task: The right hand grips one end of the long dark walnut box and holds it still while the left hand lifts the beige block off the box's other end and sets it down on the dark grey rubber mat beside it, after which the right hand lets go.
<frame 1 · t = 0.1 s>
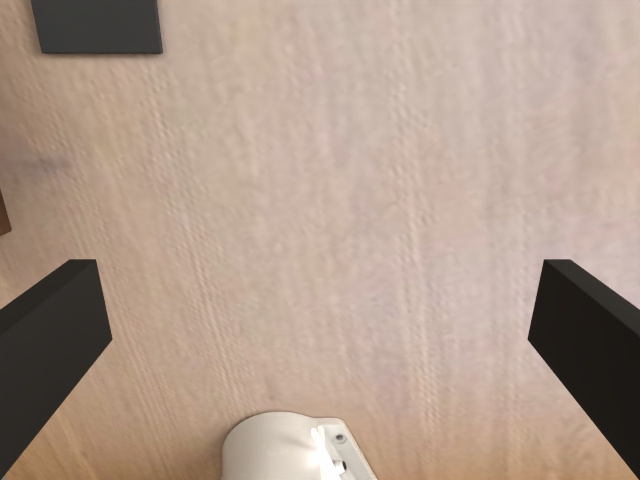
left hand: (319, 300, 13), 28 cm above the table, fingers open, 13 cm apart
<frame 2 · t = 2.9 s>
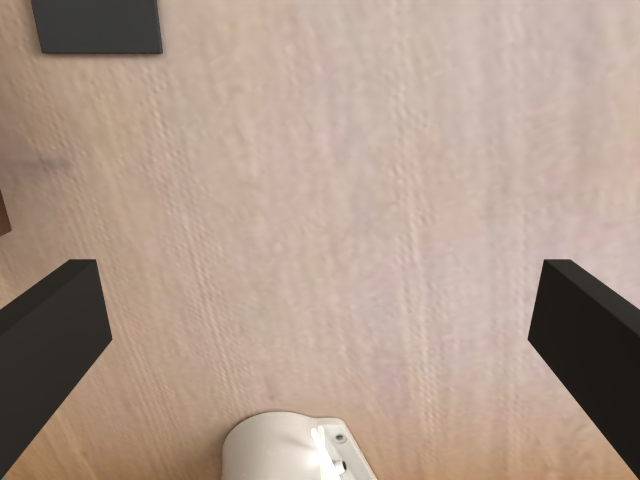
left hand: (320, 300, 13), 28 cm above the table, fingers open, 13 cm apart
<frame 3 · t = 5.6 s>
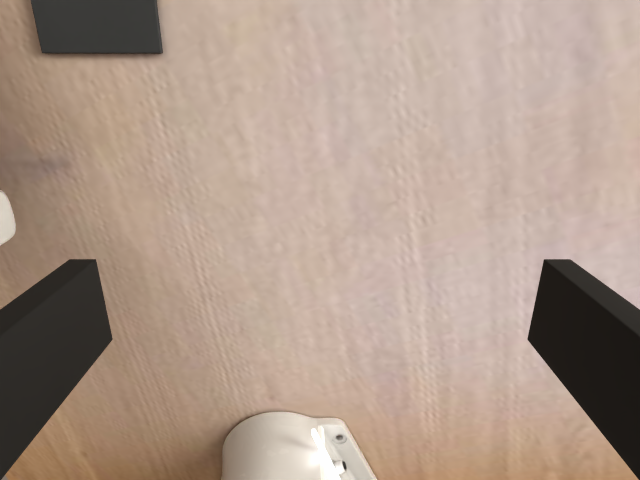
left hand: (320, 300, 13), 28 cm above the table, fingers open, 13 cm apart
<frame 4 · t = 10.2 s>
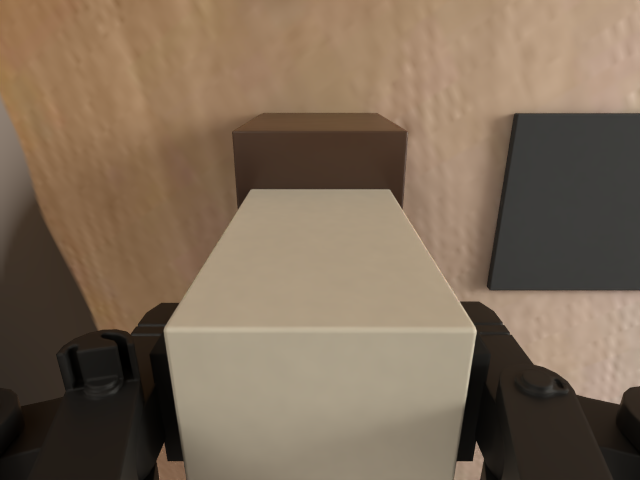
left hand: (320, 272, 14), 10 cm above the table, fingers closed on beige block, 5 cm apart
mat: (588, 206, 24), on the table
beige block: (320, 253, 16), point 8 cm above the table, touching left hand, walnut box
walnut box: (320, 329, 26), on the table, touching right hand, beige block
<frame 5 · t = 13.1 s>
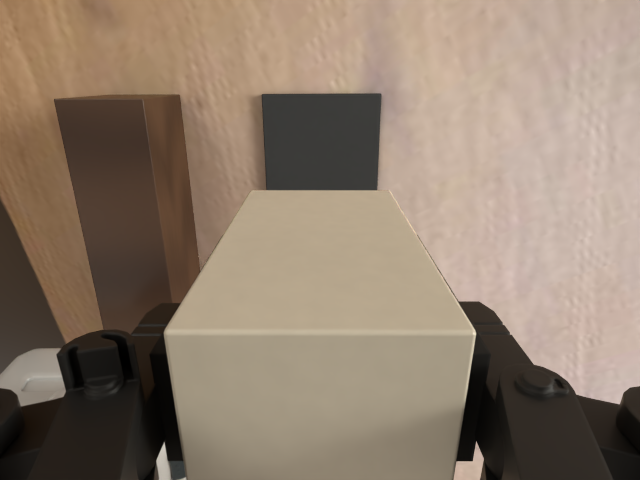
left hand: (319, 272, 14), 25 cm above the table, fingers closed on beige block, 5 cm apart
mat: (321, 153, 38), on the table
beige block: (320, 254, 16), point 23 cm above the table, touching left hand
walnut box: (165, 238, 40), on the table, touching right hand
when the left hand's fingers open (4 cm above the table, at t = 17.4 s): beige block drops 1 cm, resting on mat.
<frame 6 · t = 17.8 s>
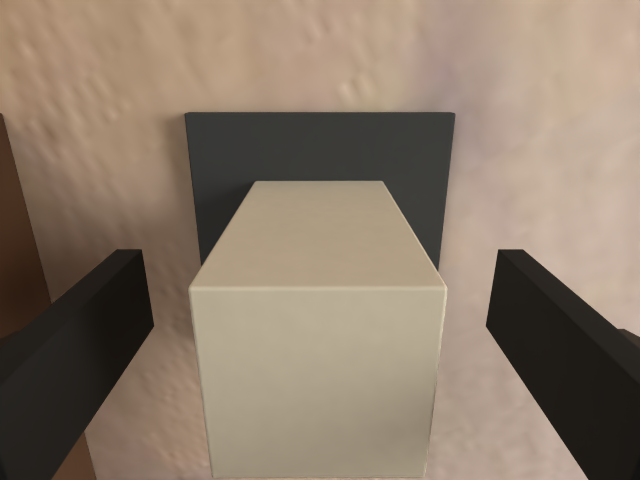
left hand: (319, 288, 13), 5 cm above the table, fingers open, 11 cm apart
mat: (319, 236, 18), on the table
beige block: (319, 240, 17), resting on mat
walnut box: (12, 389, 21), on the table, touching right hand
when the right hand's fingers open (3 cm above the table, at t = 20.9 s): walnut box stays where it is, on the table.
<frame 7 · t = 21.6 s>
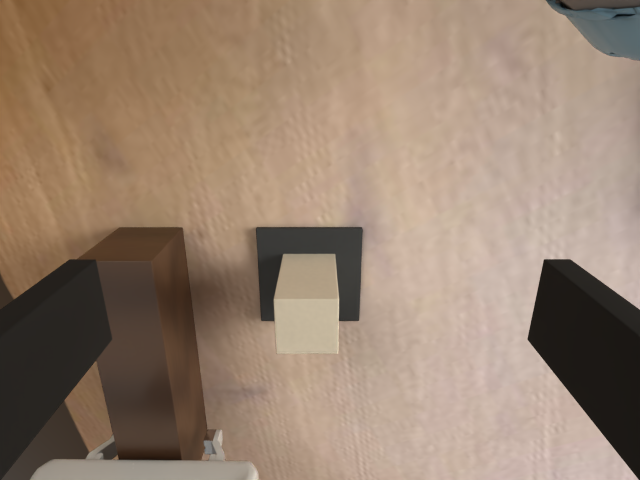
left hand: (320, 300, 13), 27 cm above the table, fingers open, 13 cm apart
mat: (309, 274, 42), on the table
beige block: (309, 277, 41), resting on mat
walnut box: (168, 343, 45), on the table
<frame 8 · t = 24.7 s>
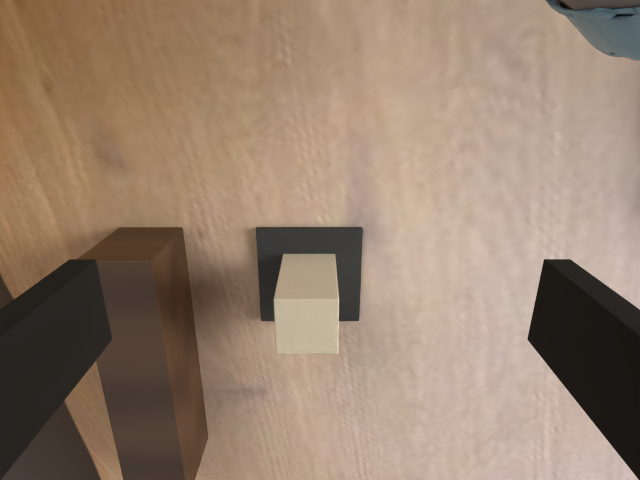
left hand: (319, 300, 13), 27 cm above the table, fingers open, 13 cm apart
mat: (309, 274, 42), on the table
beige block: (309, 277, 41), resting on mat
walnut box: (168, 343, 45), on the table
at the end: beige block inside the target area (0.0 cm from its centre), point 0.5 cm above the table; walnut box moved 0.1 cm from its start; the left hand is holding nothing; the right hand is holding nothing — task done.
